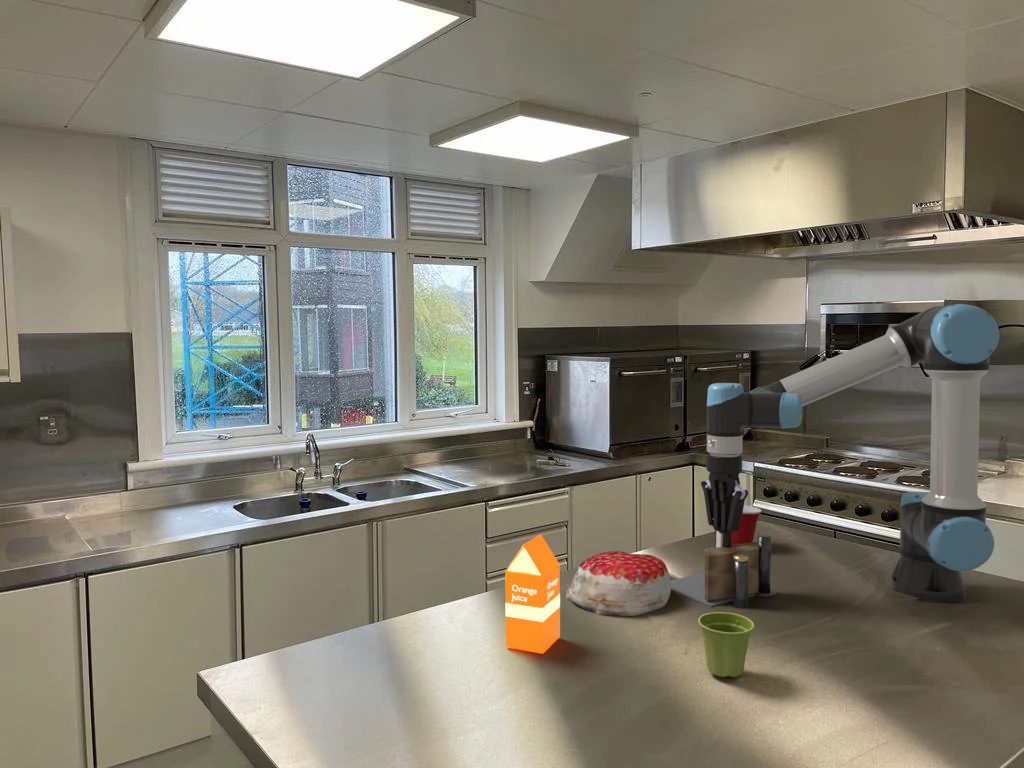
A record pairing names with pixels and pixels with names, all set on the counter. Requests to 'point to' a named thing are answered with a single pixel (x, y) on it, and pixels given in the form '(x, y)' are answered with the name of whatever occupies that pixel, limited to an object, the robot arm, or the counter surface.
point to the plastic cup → (746, 526)
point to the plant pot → (725, 642)
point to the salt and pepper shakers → (763, 573)
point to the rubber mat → (697, 589)
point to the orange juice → (533, 598)
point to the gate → (729, 570)
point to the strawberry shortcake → (620, 584)
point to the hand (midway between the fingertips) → (723, 560)
